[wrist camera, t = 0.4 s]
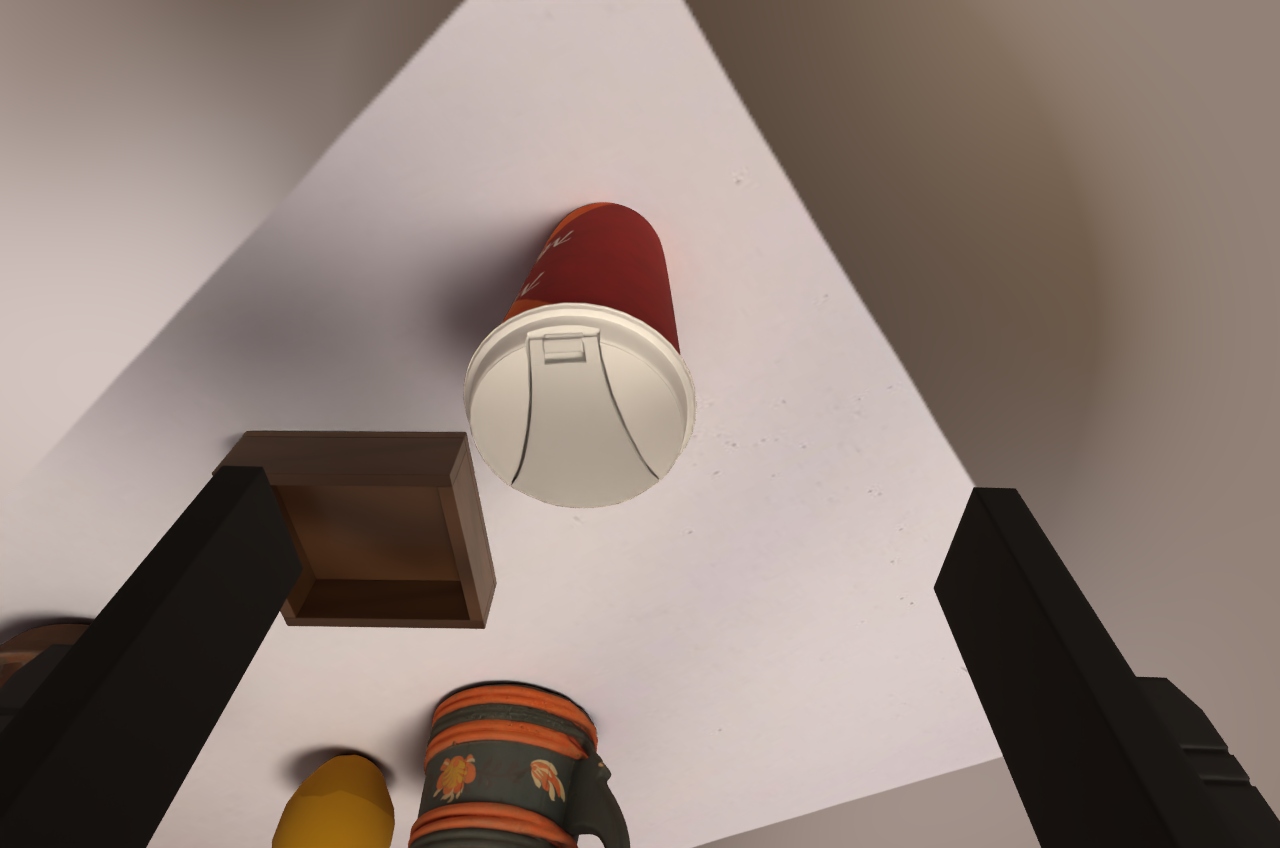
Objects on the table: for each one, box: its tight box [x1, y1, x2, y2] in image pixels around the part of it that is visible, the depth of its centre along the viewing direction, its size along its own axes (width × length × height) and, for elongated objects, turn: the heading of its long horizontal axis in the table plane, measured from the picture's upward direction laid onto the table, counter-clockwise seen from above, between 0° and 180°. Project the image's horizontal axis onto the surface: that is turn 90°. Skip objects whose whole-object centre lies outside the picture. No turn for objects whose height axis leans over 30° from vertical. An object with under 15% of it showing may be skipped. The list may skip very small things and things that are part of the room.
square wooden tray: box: [212, 431, 497, 629], centre depth 45 cm, size 14×14×4 cm
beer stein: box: [408, 684, 630, 848], centre depth 53 cm, size 19×15×20 cm
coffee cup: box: [464, 203, 697, 508], centre depth 29 cm, size 8×8×15 cm
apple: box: [272, 755, 395, 848], centre depth 61 cm, size 10×10×12 cm
